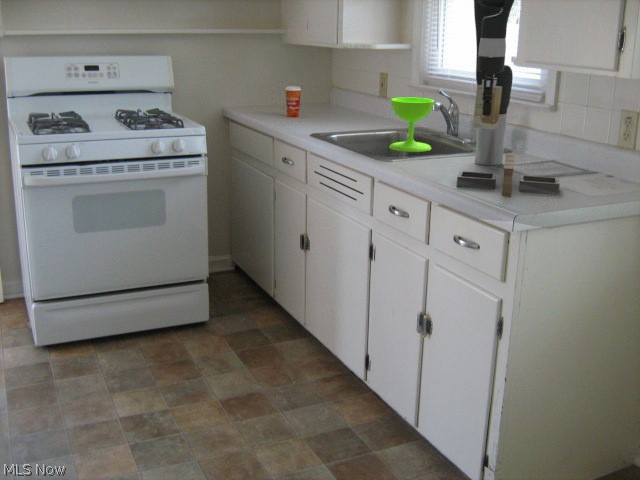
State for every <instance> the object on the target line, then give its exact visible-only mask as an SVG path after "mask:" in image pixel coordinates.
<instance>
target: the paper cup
mask: <svg viewBox="0 0 640 480" xmlns="http://www.w3.org/2000/svg"><path fill="white" fill-rule="evenodd" d="M284 90H285V98H286V99H285V100H286V101H285V102H286V116H287V117H288V118H298V117H299V116H300V105H301V91H302V89H301V87H300V86H297V85H295V86H294V85H292V86H291V85H290V86H286V87H285V89H284Z"/></svg>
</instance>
